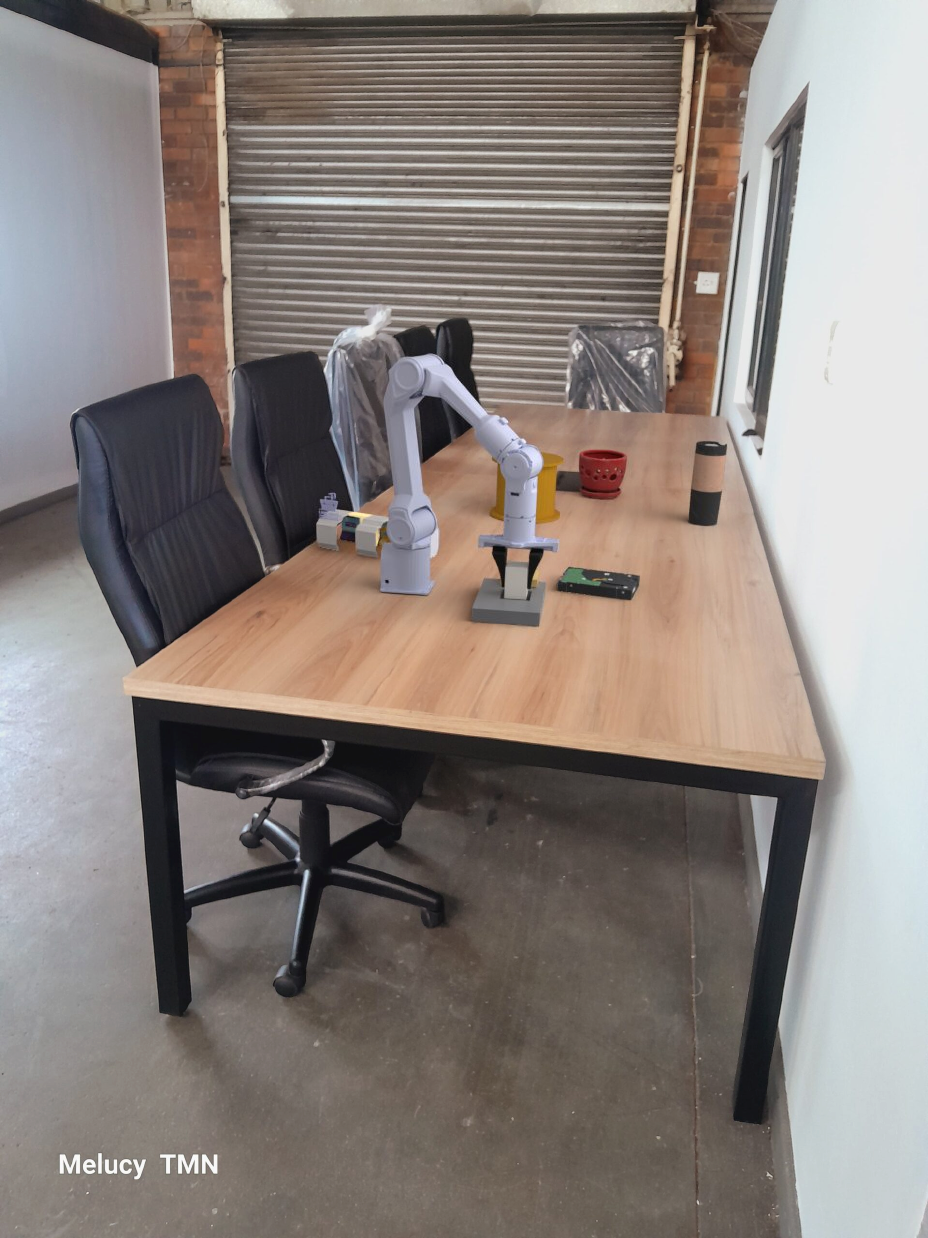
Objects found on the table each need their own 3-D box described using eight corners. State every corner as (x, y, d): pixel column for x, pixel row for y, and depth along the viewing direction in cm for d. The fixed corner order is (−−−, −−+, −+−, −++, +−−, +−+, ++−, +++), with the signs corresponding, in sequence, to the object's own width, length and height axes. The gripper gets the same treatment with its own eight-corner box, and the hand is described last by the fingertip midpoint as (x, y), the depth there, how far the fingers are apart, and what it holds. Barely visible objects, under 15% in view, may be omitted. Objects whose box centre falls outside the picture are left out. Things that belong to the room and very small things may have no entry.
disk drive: (638, 588, 193) (566, 578, 197) (640, 574, 192) (568, 565, 196) (631, 603, 183) (555, 593, 187) (632, 590, 182) (557, 579, 186)
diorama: (316, 550, 211) (315, 491, 206) (342, 539, 219) (341, 483, 215) (416, 567, 201) (417, 506, 196) (438, 555, 209) (439, 496, 205)
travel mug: (686, 524, 239) (695, 444, 233) (687, 517, 246) (696, 439, 240) (718, 527, 238) (728, 447, 231) (718, 520, 245) (727, 441, 238)
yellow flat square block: (499, 584, 181) (500, 577, 181) (503, 574, 188) (503, 566, 187) (536, 587, 181) (537, 579, 180) (539, 576, 187) (539, 569, 187)
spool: (562, 524, 236) (566, 464, 231) (489, 522, 237) (492, 462, 231) (557, 507, 253) (560, 451, 248) (489, 505, 253) (491, 449, 248)
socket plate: (471, 621, 170) (472, 608, 169) (483, 589, 187) (484, 577, 186) (539, 626, 168) (539, 613, 167) (545, 594, 185) (545, 582, 184)
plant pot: (567, 492, 271) (570, 450, 266) (607, 489, 276) (610, 447, 272) (592, 502, 259) (595, 458, 255) (632, 499, 265) (636, 456, 261)
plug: (506, 591, 178) (507, 560, 176) (527, 592, 178) (529, 562, 176) (504, 598, 175) (505, 566, 173) (526, 599, 174) (527, 568, 172)
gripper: (477, 517, 168) (474, 590, 173) (559, 522, 167) (554, 596, 171) (481, 508, 175) (479, 579, 180) (561, 512, 173) (556, 584, 178)
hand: (516, 586), depth 176 cm, fingers closed on plug, 4 cm apart
